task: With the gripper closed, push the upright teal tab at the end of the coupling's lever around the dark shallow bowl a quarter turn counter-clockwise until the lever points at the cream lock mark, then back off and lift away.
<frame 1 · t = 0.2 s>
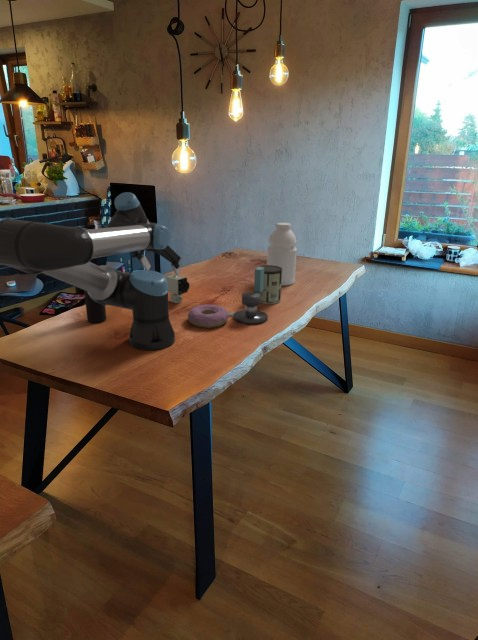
hand: (163, 270, 177), 16 cm above the table, tool tilted 35°, fingers open, 13 cm apart
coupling: (254, 285, 172), point 12 cm above the table, hinge at 0.0°
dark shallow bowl: (250, 318, 174), on the table
donut: (208, 322, 170), on the table
pneumatic valve: (176, 302, 190), on the table
coffee can: (268, 300, 194), on the table
bottle: (280, 282, 220), on the table
bottle 2: (97, 320, 170), on the table
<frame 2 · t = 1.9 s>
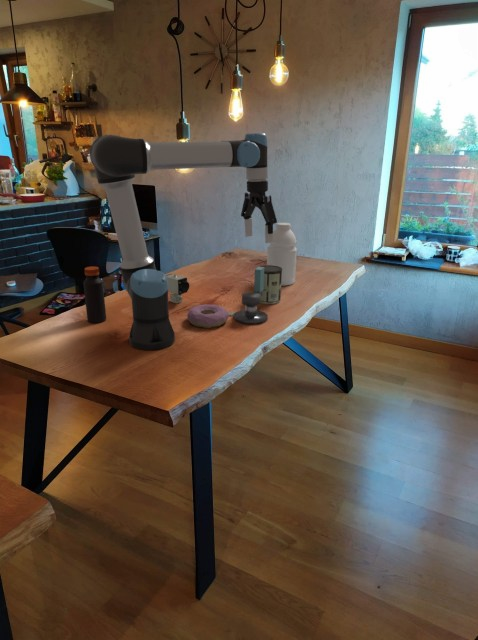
hand: (258, 239, 169), 29 cm above the table, tool pointing down, fingers open, 13 cm apart
nothing on the table moved.
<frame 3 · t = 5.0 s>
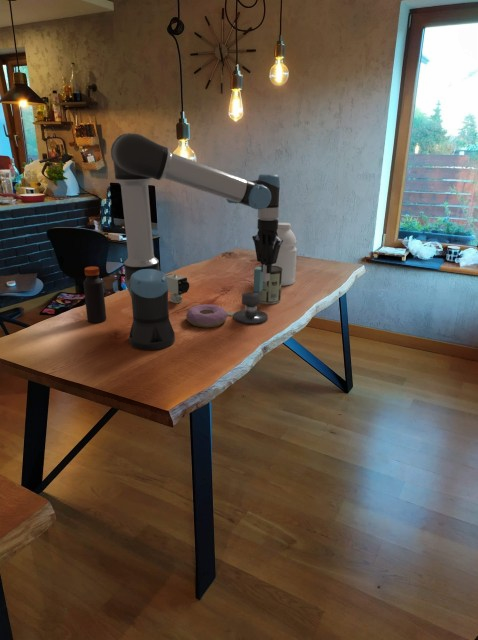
hand: (266, 280, 174), 13 cm above the table, tool pointing down, fingers closed
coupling: (254, 285, 173), point 12 cm above the table, hinge at 2.4°, touching gripper
everything else where it was.
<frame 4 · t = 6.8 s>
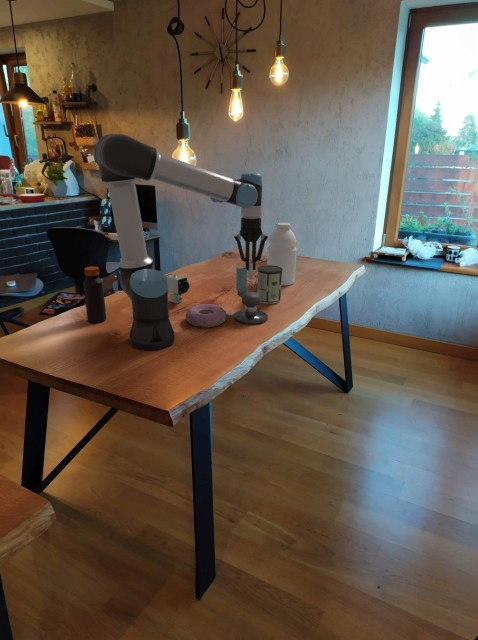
hand: (250, 278, 176), 14 cm above the table, tool pointing down, fingers closed
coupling: (247, 285, 172), point 12 cm above the table, hinge at 50.9°, touching gripper
everything else where it was.
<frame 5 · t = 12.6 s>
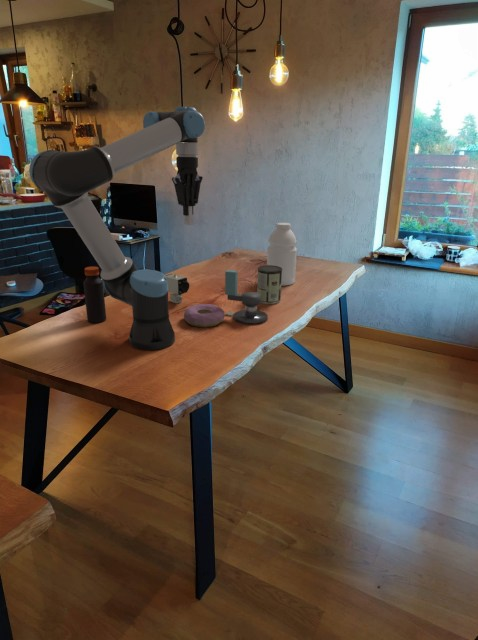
hand: (188, 224, 167), 34 cm above the table, tool pointing down, fingers closed
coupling: (243, 287, 171), point 12 cm above the table, hinge at 95.2°
at the end: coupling at +95° (first picture: +0°); the gripper is holding nothing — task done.
